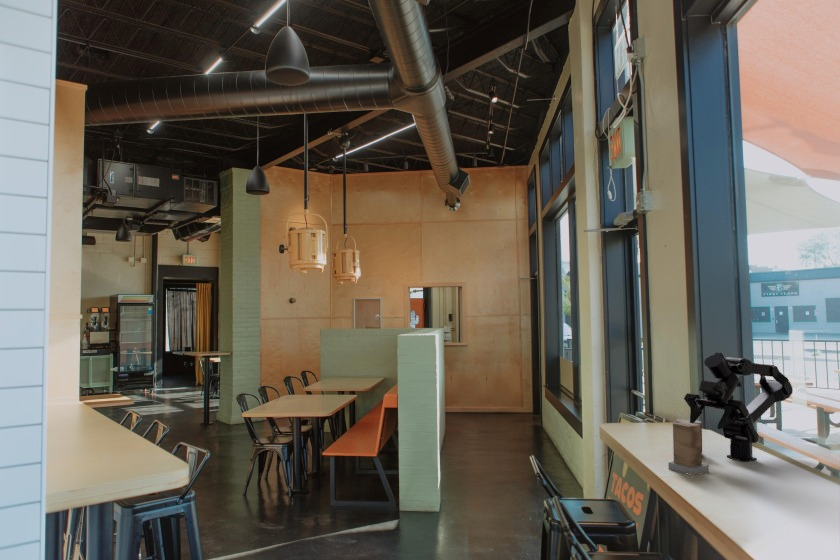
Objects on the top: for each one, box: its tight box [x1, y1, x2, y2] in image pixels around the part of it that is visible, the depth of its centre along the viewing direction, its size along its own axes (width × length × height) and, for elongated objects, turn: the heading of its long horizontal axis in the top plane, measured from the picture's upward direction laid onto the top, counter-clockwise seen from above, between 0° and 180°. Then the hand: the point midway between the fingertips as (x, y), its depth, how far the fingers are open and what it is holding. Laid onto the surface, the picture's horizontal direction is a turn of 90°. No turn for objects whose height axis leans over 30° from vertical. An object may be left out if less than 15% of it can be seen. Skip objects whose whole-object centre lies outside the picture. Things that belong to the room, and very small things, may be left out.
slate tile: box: [667, 460, 710, 476], centre depth 167 cm, size 8×8×2 cm
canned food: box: [675, 418, 703, 455], centre depth 188 cm, size 8×8×11 cm
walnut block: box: [672, 422, 703, 467], centre depth 168 cm, size 6×6×12 cm
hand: (704, 425), depth 172 cm, fingers open, 9 cm apart
